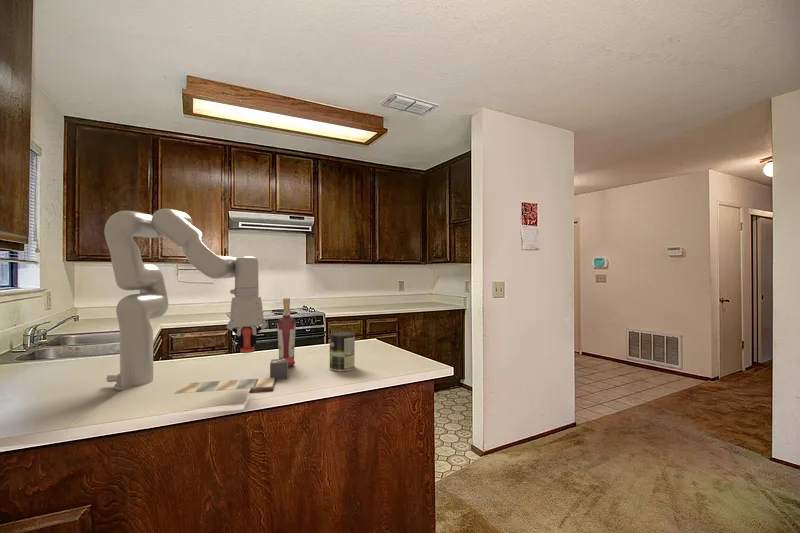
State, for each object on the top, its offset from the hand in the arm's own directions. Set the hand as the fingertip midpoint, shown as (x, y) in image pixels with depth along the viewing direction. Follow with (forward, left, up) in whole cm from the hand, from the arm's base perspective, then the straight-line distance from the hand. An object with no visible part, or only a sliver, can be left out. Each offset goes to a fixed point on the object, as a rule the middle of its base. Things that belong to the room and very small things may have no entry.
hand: (247, 346), depth 131 cm
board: (-6, 0, -14) cm, 15 cm away
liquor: (+12, +25, -14) cm, 31 cm away
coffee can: (+34, +17, -14) cm, 40 cm away
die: (+10, +10, -14) cm, 20 cm away
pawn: (0, 0, -2) cm, 2 cm away
